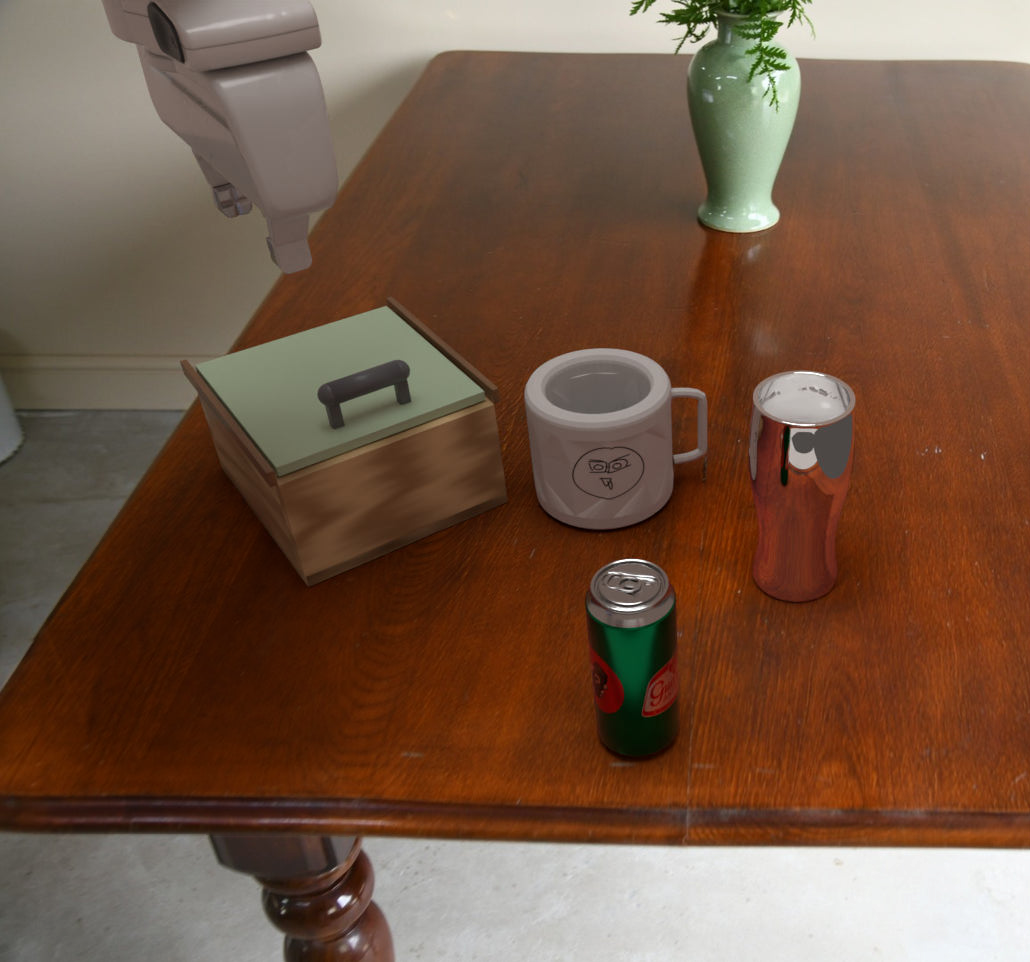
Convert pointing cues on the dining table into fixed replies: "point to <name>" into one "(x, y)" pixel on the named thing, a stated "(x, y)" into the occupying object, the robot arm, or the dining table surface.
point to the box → (369, 479)
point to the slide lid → (336, 388)
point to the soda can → (633, 656)
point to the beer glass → (799, 479)
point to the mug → (605, 436)
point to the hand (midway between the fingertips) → (263, 238)
